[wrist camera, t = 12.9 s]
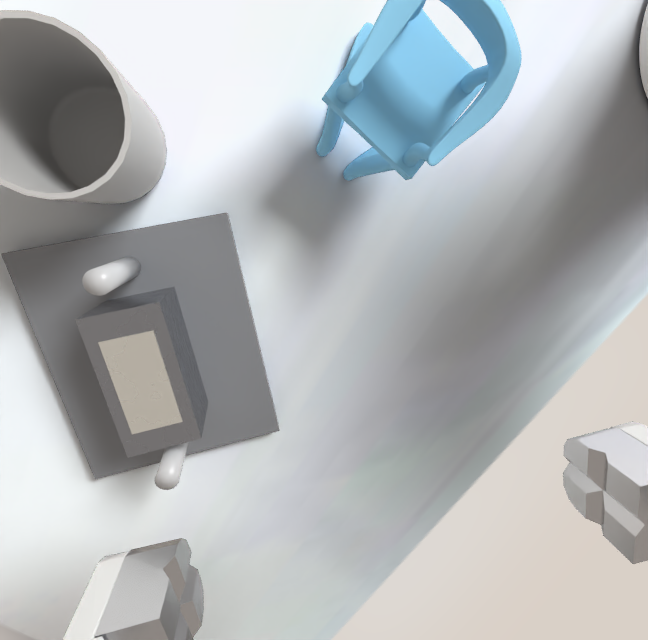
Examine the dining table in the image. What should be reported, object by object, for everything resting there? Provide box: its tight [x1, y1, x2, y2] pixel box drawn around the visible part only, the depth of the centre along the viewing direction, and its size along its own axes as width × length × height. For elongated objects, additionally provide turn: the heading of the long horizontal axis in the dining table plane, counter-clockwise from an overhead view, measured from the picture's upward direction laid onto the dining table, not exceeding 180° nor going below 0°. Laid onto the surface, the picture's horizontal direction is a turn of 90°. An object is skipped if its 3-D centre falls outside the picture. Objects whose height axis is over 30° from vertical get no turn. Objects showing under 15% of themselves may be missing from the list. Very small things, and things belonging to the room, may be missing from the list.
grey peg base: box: [1, 213, 279, 490], centre depth 25 cm, size 14×17×7 cm
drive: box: [75, 287, 208, 458], centre depth 25 cm, size 4×9×5 cm, turn 10°
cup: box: [0, 10, 167, 204], centre depth 20 cm, size 7×10×9 cm
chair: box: [316, 0, 521, 180], centre depth 22 cm, size 8×8×12 cm
